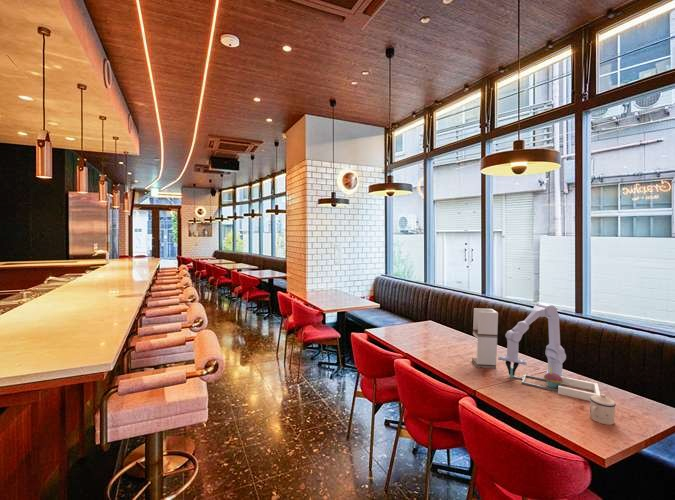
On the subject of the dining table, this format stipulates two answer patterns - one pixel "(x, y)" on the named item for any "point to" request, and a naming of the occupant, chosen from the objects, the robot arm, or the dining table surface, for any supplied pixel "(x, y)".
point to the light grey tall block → (485, 337)
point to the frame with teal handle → (533, 378)
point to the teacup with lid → (602, 409)
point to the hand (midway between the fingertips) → (511, 374)
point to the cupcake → (553, 379)
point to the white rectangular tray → (579, 384)
